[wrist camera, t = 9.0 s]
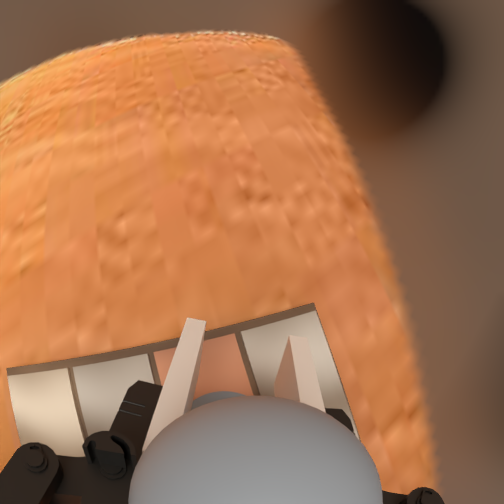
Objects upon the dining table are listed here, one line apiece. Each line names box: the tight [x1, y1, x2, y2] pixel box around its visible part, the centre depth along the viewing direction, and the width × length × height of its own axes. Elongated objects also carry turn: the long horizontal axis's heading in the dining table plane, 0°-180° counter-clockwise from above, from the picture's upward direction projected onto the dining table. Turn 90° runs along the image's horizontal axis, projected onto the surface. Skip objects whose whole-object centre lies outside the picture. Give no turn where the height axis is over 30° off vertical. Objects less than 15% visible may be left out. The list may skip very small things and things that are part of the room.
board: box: [7, 303, 361, 457], centre depth 17 cm, size 12×22×2 cm, turn 107°
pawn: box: [128, 391, 383, 504], centre depth 8 cm, size 5×5×13 cm
